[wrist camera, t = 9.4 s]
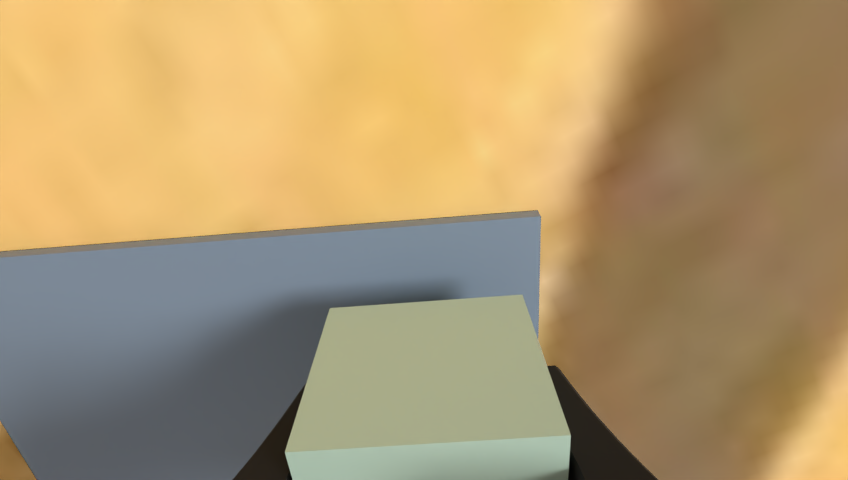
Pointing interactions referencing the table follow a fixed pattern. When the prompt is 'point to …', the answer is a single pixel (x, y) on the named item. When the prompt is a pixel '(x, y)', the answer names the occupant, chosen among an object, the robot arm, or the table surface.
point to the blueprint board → (213, 333)
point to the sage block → (430, 396)
